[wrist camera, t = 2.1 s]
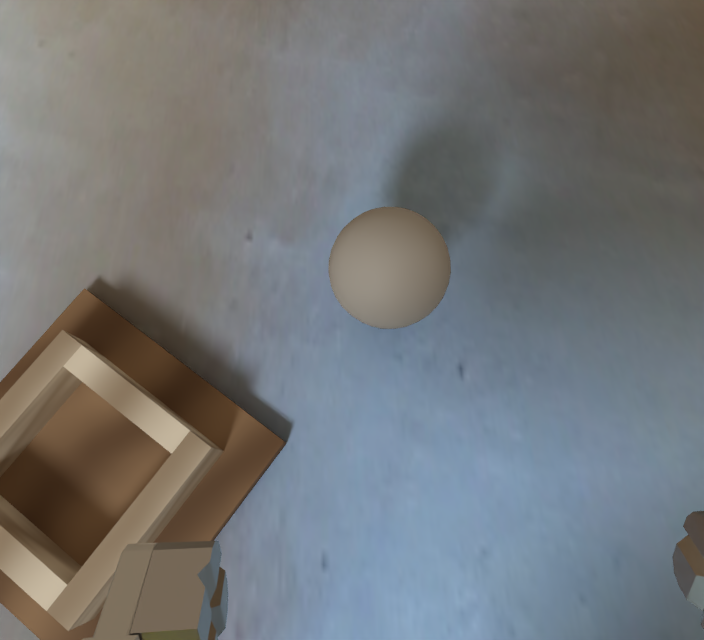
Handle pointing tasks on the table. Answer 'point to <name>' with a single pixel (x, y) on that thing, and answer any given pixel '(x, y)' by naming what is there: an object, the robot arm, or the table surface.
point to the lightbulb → (389, 267)
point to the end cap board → (109, 463)
